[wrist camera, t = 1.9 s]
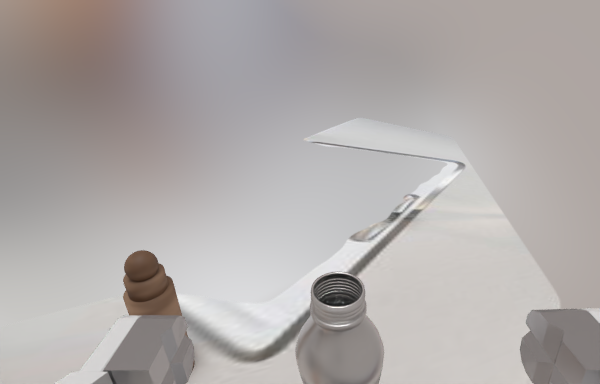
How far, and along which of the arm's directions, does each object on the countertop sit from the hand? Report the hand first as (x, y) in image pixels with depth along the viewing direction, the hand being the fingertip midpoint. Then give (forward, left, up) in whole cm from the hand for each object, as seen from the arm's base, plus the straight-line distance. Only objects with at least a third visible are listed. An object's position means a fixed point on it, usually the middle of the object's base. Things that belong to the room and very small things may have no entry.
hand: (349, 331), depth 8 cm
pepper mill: (-20, +22, -29) cm, 41 cm away
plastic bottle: (0, +12, -29) cm, 31 cm away
